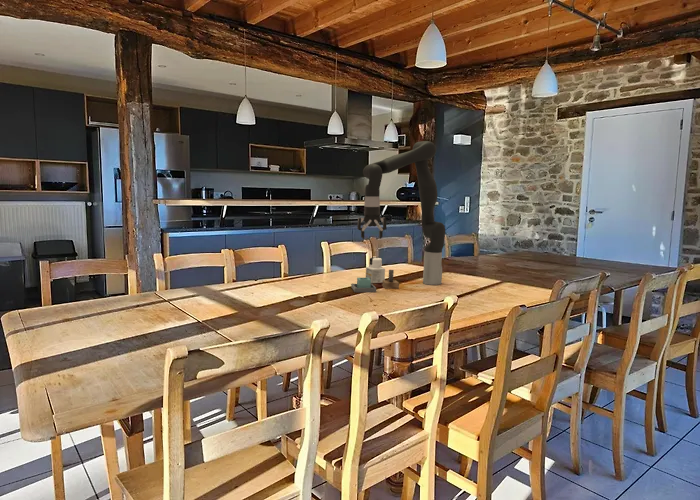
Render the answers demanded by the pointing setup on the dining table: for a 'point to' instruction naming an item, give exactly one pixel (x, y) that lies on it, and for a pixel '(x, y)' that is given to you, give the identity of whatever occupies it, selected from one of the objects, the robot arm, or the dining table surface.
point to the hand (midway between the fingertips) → (371, 238)
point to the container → (375, 270)
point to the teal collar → (363, 283)
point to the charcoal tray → (355, 289)
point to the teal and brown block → (390, 282)
